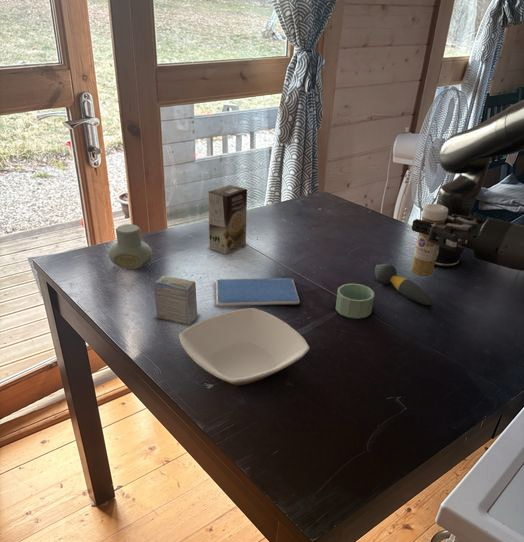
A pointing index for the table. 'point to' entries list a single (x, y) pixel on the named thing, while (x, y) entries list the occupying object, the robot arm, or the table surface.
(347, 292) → the bracelet
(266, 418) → the table surface
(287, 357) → the bowl
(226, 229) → the coffee box
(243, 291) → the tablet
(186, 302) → the medicine box
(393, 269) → the paintbrush
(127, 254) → the air freshener
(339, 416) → the table surface
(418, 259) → the sprinkles bottle
